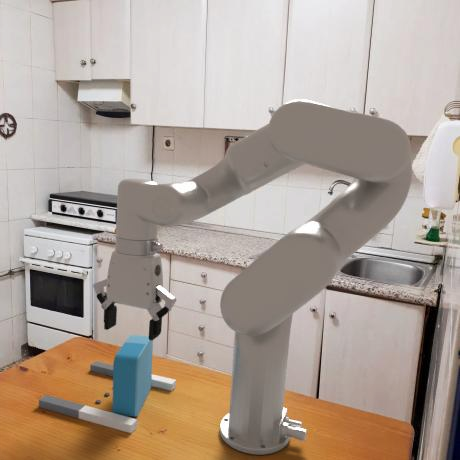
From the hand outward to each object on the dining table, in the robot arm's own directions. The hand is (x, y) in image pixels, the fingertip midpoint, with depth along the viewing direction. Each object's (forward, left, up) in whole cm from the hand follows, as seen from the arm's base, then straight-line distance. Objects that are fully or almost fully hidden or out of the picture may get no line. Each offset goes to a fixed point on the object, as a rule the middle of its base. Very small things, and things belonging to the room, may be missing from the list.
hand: (131, 332), depth 89 cm
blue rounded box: (-1, 0, -15) cm, 15 cm away
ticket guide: (+4, 0, -14) cm, 15 cm away
